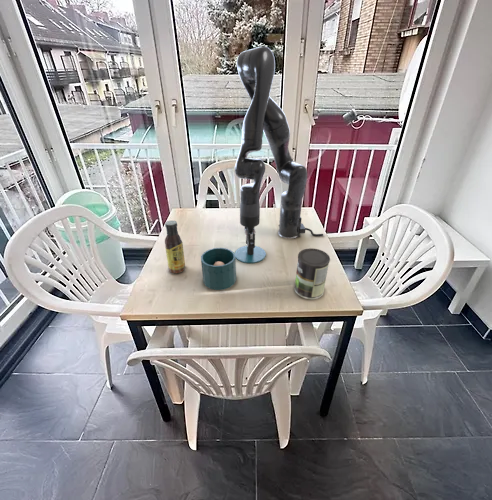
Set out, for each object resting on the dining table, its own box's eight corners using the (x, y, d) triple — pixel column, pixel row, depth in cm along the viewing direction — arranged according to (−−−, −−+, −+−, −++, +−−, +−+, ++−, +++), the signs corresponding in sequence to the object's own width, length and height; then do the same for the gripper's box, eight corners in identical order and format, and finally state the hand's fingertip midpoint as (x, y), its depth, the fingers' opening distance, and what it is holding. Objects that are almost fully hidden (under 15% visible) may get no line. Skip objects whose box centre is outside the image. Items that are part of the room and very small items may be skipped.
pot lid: (263, 246, 124) (263, 234, 121) (268, 263, 114) (268, 250, 110) (233, 248, 123) (233, 236, 120) (236, 265, 112) (235, 253, 109)
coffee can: (295, 299, 96) (299, 265, 88) (293, 280, 105) (296, 247, 97) (326, 300, 96) (333, 266, 88) (321, 281, 104) (326, 248, 97)
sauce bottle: (177, 276, 106) (169, 229, 96) (165, 270, 109) (156, 224, 98) (189, 267, 111) (183, 221, 100) (177, 262, 114) (170, 217, 103)
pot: (234, 269, 110) (234, 246, 104) (237, 289, 100) (236, 265, 94) (203, 272, 108) (201, 248, 103) (203, 292, 99) (200, 267, 93)
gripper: (262, 220, 102) (261, 257, 111) (257, 204, 114) (256, 239, 123) (241, 221, 101) (241, 258, 110) (238, 205, 113) (239, 240, 122)
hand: (249, 248), depth 116 cm, fingers open, 8 cm apart
